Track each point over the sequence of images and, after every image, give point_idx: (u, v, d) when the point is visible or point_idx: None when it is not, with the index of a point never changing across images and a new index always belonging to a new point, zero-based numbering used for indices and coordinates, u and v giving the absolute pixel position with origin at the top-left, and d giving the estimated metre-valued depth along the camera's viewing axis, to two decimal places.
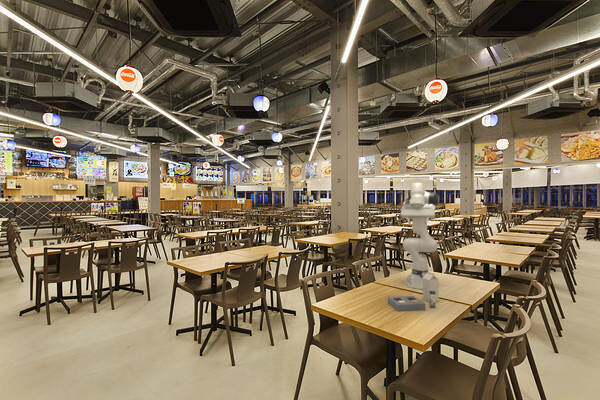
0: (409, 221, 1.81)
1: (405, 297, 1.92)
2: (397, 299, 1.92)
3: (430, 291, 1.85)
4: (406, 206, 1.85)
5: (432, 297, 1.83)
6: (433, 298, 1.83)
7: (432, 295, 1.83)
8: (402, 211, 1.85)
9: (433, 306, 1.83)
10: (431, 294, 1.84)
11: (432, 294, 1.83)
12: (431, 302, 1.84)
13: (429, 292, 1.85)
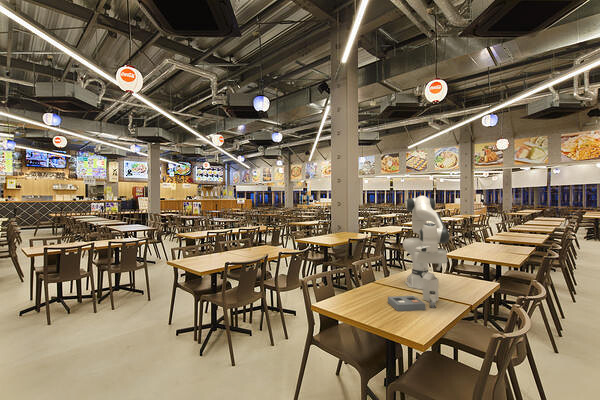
0: (424, 269, 1.83)
1: (405, 297, 1.92)
2: (397, 299, 1.92)
3: (430, 291, 1.85)
4: (422, 253, 1.82)
5: (432, 297, 1.83)
6: (433, 298, 1.83)
7: (432, 295, 1.83)
8: (418, 258, 1.82)
9: (433, 306, 1.83)
10: (431, 294, 1.84)
11: (432, 294, 1.83)
12: (431, 302, 1.84)
13: (429, 292, 1.85)
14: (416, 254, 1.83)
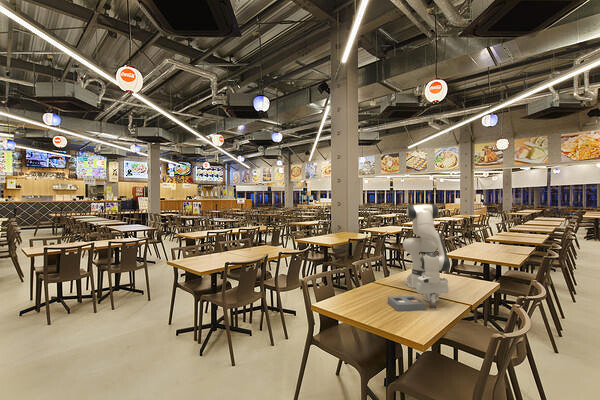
0: (429, 299, 1.84)
1: (405, 297, 1.92)
2: (397, 299, 1.92)
3: None
4: (424, 284, 1.82)
5: (432, 297, 1.83)
6: (433, 298, 1.83)
7: (432, 295, 1.83)
8: (420, 289, 1.82)
9: (433, 306, 1.83)
10: (431, 294, 1.84)
11: (432, 294, 1.83)
12: (431, 302, 1.84)
13: None
14: (418, 285, 1.84)
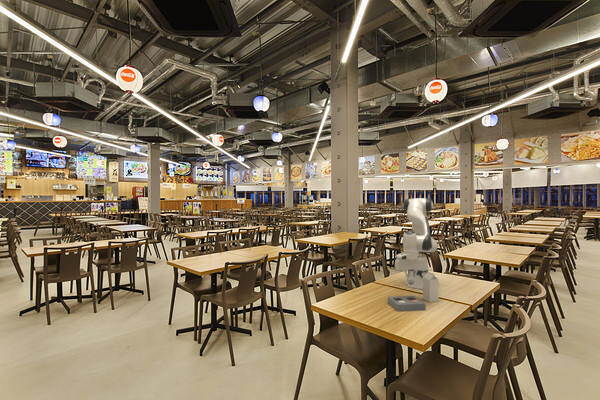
0: (407, 275, 1.89)
1: (405, 297, 1.92)
2: (397, 299, 1.92)
3: None
4: (402, 261, 1.87)
5: (410, 274, 1.88)
6: (411, 274, 1.88)
7: (410, 272, 1.88)
8: (398, 266, 1.87)
9: (411, 282, 1.88)
10: (409, 271, 1.89)
11: (410, 271, 1.88)
12: (409, 278, 1.89)
13: None
14: (396, 261, 1.89)
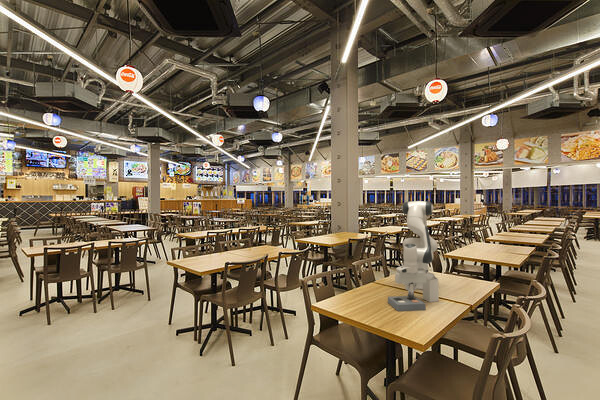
0: (407, 288, 1.89)
1: (405, 297, 1.92)
2: (397, 299, 1.92)
3: None
4: (402, 274, 1.87)
5: (410, 287, 1.88)
6: (411, 288, 1.88)
7: (410, 285, 1.88)
8: (398, 279, 1.87)
9: (411, 295, 1.88)
10: (409, 284, 1.89)
11: (410, 284, 1.88)
12: (409, 292, 1.89)
13: None
14: (397, 275, 1.89)
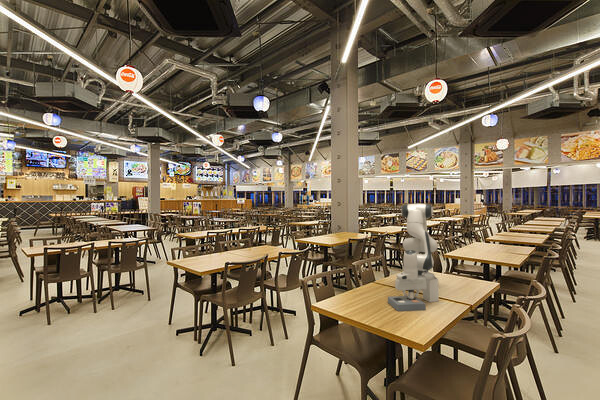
0: (406, 295, 1.89)
1: (405, 297, 1.92)
2: (397, 299, 1.92)
3: None
4: (402, 280, 1.87)
5: (410, 295, 1.88)
6: (411, 296, 1.88)
7: (410, 293, 1.88)
8: (399, 286, 1.87)
9: None
10: (409, 292, 1.89)
11: (410, 292, 1.88)
12: None
13: (408, 290, 1.90)
14: (397, 281, 1.89)
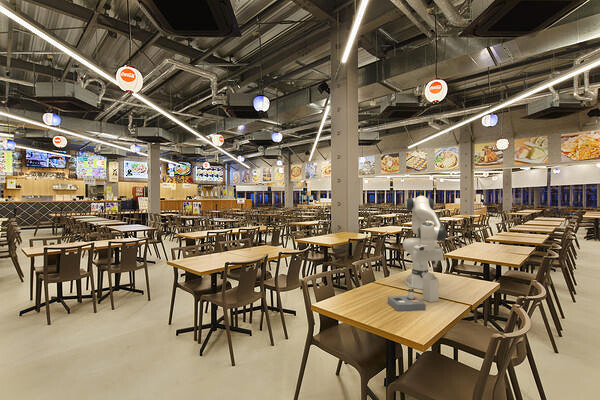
0: (421, 266, 1.92)
1: (405, 297, 1.92)
2: (397, 299, 1.92)
3: (409, 289, 1.90)
4: (420, 252, 1.91)
5: (410, 295, 1.88)
6: (411, 296, 1.88)
7: (410, 293, 1.88)
8: (416, 257, 1.91)
9: None
10: (409, 292, 1.89)
11: (410, 292, 1.88)
12: None
13: (408, 290, 1.90)
14: (414, 253, 1.92)
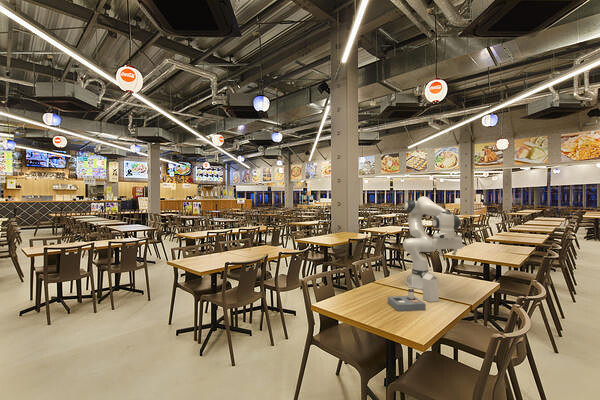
0: (441, 254, 1.95)
1: (405, 297, 1.92)
2: (397, 299, 1.92)
3: (409, 289, 1.90)
4: (440, 239, 1.94)
5: (410, 295, 1.88)
6: (411, 296, 1.88)
7: (410, 293, 1.88)
8: (436, 245, 1.94)
9: None
10: (409, 292, 1.89)
11: (410, 292, 1.88)
12: None
13: (408, 290, 1.90)
14: (434, 241, 1.95)
